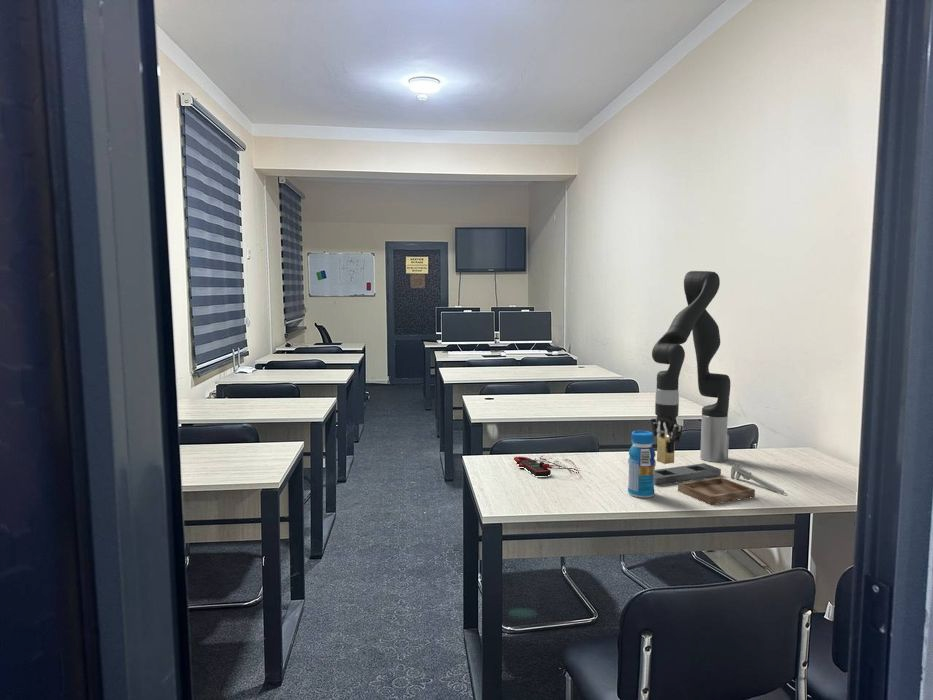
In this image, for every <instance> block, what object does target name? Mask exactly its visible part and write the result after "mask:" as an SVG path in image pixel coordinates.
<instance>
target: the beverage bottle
mask: <svg viewBox="0 0 933 700" xmlns="http://www.w3.org/2000/svg"><path fill="white" fill-rule="evenodd" d="M630 439H631V443H632V445H631V446H630V448H629V450H628V455H629V457H628V460H627V463H628V487H627V494H629V495H630V496H632V497H635V498H640V499H642V498H643V499H645V498H647V499H648V498H652V497H653V496H655V485H654V476H655V470H656V469H655V468H656V465H657V460H656V459H655V457H657V453H656V451H655V449H654V447H653V445H654V439H655V436H654V435H653V431H648V430H633V431H632V432H631V438H630Z"/></svg>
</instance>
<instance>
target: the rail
mask: <svg viewBox="0 0 933 700" xmlns="http://www.w3.org/2000/svg"><path fill="white" fill-rule="evenodd" d="M721 473H722V469H721V468H718V467H717V466H716V467H715V466H713V465H710V464H707V463H705V462H704V463H695V464H688V465H681V466H673V467H667V468H666V467H665V468H661V469H660V468H659V469H655V476H654V487H655V486H657V487H658V486H662V485H670V483H671V484H676V482H678V483H684V482H683V481H685V482H691V481H698V480H705V479H711V478H718V477H722V474H721ZM704 478H705V479H704ZM697 479H698V480H697ZM690 480H691V481H690Z"/></svg>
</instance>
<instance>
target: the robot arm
mask: <svg viewBox="0 0 933 700" xmlns="http://www.w3.org/2000/svg"><path fill="white" fill-rule="evenodd" d="M720 281H721V280H720V276H719V274H718V272H715V271H710V270H705V271H704V270H690V271H688V272H686V273H685V276H684V278H683V290H684V294H685V298H686V303H687V306H686V307H684V308H683V309H682V310H680V311H679V312H678V313H676V315H675V317H674V318H673V320H672V322H671V323H670V325H669V328H668V329H667V331H666V332H665V333H664V334H663V335H662V336H661V338H659V339H658V341H656V343H654V346H653V347H652V351H651V356H652V357H651V358H652V360H653V361H654V362H655V363H657V364H663V365H669V366H668V369H666V370H661V371H658V372H657V374H656V391H655V398H654V399H655V401H654V402H655V404H654V405H655V407H654V408H655V409H654V414H655V416H656V418H652V419H650V424H651V428H652V430H651V431H652V433H653V435H654V437H656V438H657V437H661V436H667V441H668V442H667V453H673V452H674V453H675V450H674V443H675V444H676V442H680V439H681V436H682V432H683V429H684V426H683V425H679V423H678V422H677V417H678V416H679V404H680V396H679V395H680V394H679V379H680V374H681V370H682V366H683V364H684V361H685V358H686V352H685V349H684V347H683V346H682V345H683V344H685V343H686V342H687V341H688V339H689V337H690V335H691V333H692V340H693V345H694V351H695V352H694V353H695V360H696V370H697V371H696V372H697V373H696V374H697V388H698V392H699V394H700V396H703V397H706V398H715V399H716V402H715V403H713V404H708V405H705V406H702V408H701V424H700V425H701V428H700V431H701V433H700V459H702V460H704V461H708V462H715V463H718V462H719V463H720V462H726V461H727V460H729V447H730V446H729V444H730V443H729V442H730V435H729V434H728V415H729V407H730V396H731V394H730V393H731V379H730V376H729V375H728V374H723V373H715V372H714V373H713V372H710V369H709V367H710V363H711V361H712V359H713V358H714V356H715V355H716V354H717V352H718V350H719V348H720V345H721V335H720V327H719V325H718V324H717V322H716V320H715V318H713V316H712V315H711V314H710V313H709V312H708V310H707V308H708V306H709V305H710V303H711V302H712V301H713V299H714V298H715V297H716V296H717V293H718V291H719V289H720V283H721V282H720ZM670 437H672V438H670Z"/></svg>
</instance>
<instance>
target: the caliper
mask: <svg viewBox="0 0 933 700" xmlns="http://www.w3.org/2000/svg"><path fill="white" fill-rule="evenodd" d="M740 465H741V463H738V462H737V461H736V462H734V464H732V466H731V469H730V478H731V479H734V478H735V479H736V480H735V481H738V480H739V479H740V478H741V477H742V478H743V479H745V480H746V481H749V480H751V481H754V482H755V483H757V484H759V485H761V486H763V487H764V488H767V489H768V490H771V491H772V490H773V491H772V492H774V491H776V492H779V493H782V494H781V495H783V494H787V492H785V490H784V489H782V488H780V487H777V486H776V485H774V484H772V483H770V482H768V481H766V480H764V479H762V478H760V477H758V476H756V475H754V474H752V472H751V471H749V470H747V469H745V468H744V467H741V466H740ZM737 479H738V480H737ZM776 492H775V493H776ZM779 493H778V494H779Z"/></svg>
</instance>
